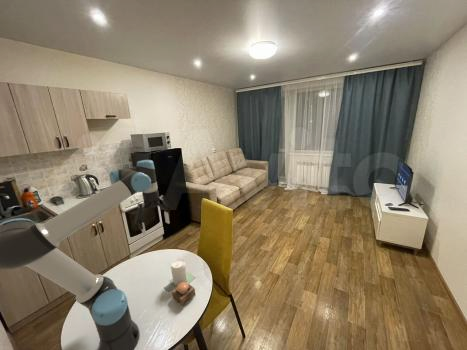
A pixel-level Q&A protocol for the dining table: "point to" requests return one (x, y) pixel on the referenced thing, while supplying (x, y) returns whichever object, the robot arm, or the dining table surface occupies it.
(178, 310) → the dining table surface
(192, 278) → the pad
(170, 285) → the pad
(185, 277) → the beverage can
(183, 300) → the housing
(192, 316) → the dining table surface
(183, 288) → the plunger
